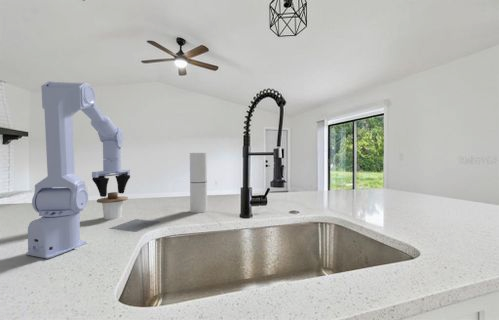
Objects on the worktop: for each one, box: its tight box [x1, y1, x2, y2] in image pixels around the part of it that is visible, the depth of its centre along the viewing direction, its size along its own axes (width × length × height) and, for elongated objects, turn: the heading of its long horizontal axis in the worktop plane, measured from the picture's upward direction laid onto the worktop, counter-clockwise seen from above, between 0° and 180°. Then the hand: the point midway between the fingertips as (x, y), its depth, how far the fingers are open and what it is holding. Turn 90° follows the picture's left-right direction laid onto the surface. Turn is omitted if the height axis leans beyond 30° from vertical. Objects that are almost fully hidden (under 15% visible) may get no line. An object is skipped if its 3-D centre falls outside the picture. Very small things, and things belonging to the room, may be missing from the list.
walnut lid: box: [96, 191, 129, 204], centre depth 84 cm, size 10×10×3 cm
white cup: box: [101, 201, 124, 221], centre depth 84 cm, size 7×7×7 cm
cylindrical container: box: [189, 152, 208, 214], centre depth 94 cm, size 7×7×25 cm
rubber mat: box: [109, 218, 161, 233], centre depth 74 cm, size 11×11×1 cm
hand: (112, 194), depth 84 cm, fingers open, 7 cm apart
